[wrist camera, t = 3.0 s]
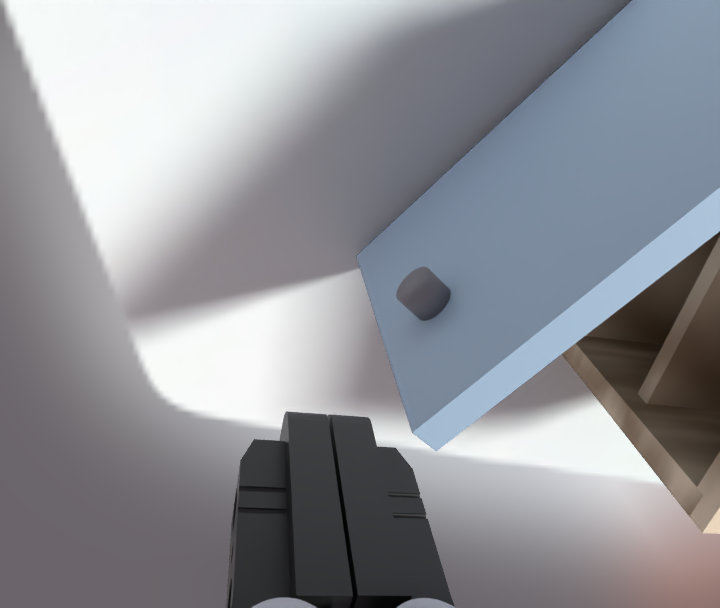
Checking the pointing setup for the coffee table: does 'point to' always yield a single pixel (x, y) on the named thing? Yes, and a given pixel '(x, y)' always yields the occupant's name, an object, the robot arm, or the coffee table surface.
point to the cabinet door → (553, 216)
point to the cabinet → (666, 378)
